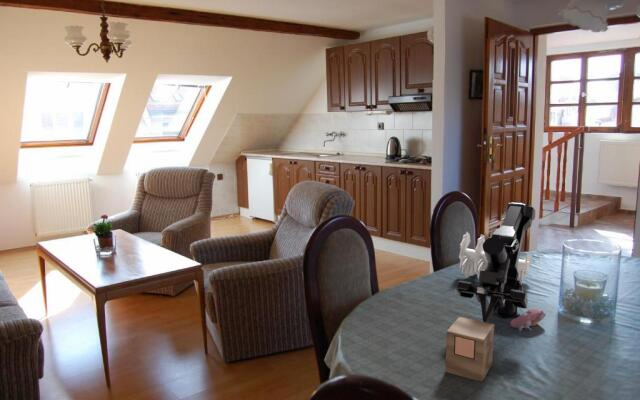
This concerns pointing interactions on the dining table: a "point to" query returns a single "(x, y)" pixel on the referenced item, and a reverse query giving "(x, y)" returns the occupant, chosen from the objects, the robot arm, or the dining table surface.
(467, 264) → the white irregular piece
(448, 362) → the sleeve block
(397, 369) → the dining table surface
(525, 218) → the robot arm
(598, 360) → the dining table surface
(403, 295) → the dining table surface
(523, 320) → the pink rounded piece
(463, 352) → the peg
